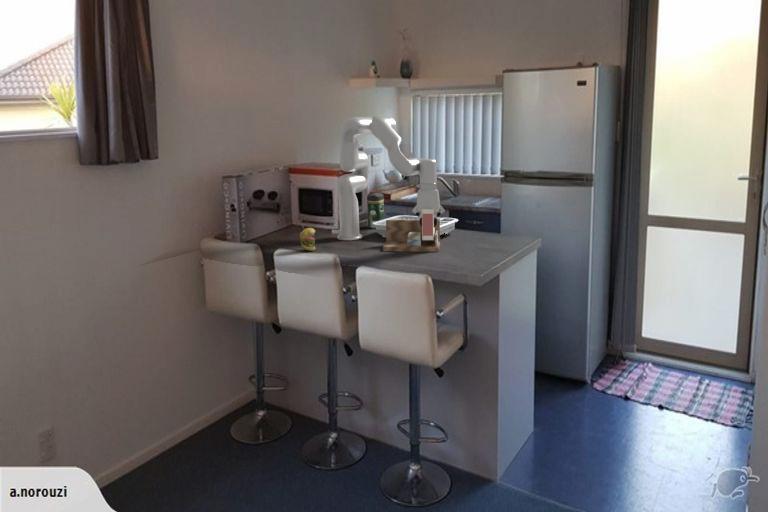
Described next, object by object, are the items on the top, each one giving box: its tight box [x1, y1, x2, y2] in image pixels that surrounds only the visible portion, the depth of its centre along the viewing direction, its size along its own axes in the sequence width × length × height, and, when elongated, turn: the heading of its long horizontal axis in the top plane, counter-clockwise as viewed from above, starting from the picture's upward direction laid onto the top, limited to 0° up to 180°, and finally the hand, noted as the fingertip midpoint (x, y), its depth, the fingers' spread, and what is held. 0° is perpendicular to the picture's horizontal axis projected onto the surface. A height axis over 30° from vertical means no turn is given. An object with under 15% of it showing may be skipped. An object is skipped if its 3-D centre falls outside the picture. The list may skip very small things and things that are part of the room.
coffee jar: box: [366, 192, 385, 230], centre depth 346 cm, size 10×8×19 cm
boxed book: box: [422, 209, 435, 240], centre depth 294 cm, size 5×9×14 cm, turn 172°
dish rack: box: [372, 215, 459, 238], centre depth 325 cm, size 32×37×8 cm
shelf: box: [382, 220, 441, 253], centre depth 297 cm, size 25×13×12 cm, turn 82°
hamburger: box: [299, 225, 316, 252], centre depth 296 cm, size 8×7×12 cm
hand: (428, 226), depth 294 cm, fingers closed on boxed book, 5 cm apart
